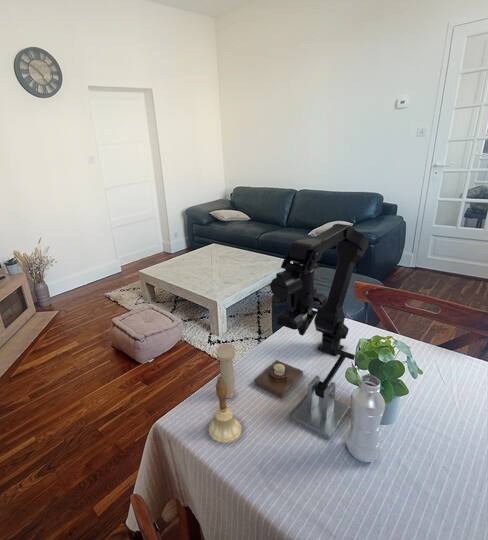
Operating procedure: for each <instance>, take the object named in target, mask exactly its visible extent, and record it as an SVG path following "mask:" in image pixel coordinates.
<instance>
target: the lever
mask: <svg viewBox="0 0 488 540" xmlns="http://www.w3.org/2000/svg"><path fill="white" fill-rule="evenodd" d="M335 354H338V355H337V356H339V357H338V358H337V360H336V362H335V364H334V365H333V366H332V367H331V369H330V370H329V372H328V374H327V375H326V376H325V378H324V380H323V381H321V380H320V381H319V383H318V384H317V386H316V387H315V395H316V396H319V397H321V398H323V399H324V391H325V390H326V388H327V387H328V386H329V385H330V383H331V382H332V380H333V379H334V377H335V375H336V374H337V372H338V370H340V367H341V366H342V365H343V363H344V361H345V360H346V359H349V360H352V361H354V360H355V359H356V355H355V354H353V353H351V352H348V351H345V350H343V349H342V350H339V349H335Z"/></svg>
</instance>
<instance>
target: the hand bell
mask: <svg viewBox="0 0 488 540" xmlns="http://www.w3.org/2000/svg"><path fill="white" fill-rule="evenodd" d="M216 380H217V381H216V383H215V392H216V396H217V398H218V402H219V407H218V408H216V410H215V412H214V418H213V419H212V421H211V422H210V423H209V425H208V434H209V436H210V438H211V439H212V440H214V441H215V442H217V443H222V444H229V443H233V442H234V441H236V440H237V439H239V438H240V436H241V434H242V431H243V430H242V424H241V422H240V421H239V420H238V419H237V418H235V416H234V412H233V410H232V409H231V408H230V407H227V400H226V399H227V398H226V395H227V387H226V383H225V381H224V379H223V377H221V376H218V377H217V379H216Z"/></svg>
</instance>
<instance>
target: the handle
mask: <svg viewBox="0 0 488 540" xmlns="http://www.w3.org/2000/svg"><path fill="white" fill-rule="evenodd" d="M235 356H236V349H235V347H234V346H233V344H231V343H221V344H219V346H217V348H216V357H217V360H218V361H219V362H220V363H219V369H220V371H219V373H220V374H219V375H220V376H221V377H223V379H224V381H225V383H226V387H227V395H226V399H232V397H234V396H235V373H234V364H233V363H234V362H233V360H234V358H235ZM220 376H219V377H220Z"/></svg>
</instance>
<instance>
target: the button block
mask: <svg viewBox="0 0 488 540" xmlns="http://www.w3.org/2000/svg"><path fill="white" fill-rule="evenodd" d="M275 364H282V365H284V367H285V373H284V374H283V375H276V374H275V373H274V365H275ZM303 377H304V371H303V370H301V369H300V368H297V367H294V366H292V365H290V364H287V363H285V362H282V361H280V360H277V359H276V360H275V361H274V362H273V363H272V364H271V365H269V366H268V367H267V368H266V369H265V370H264V371H263V372H261V374H260V375H258V376H257V377H256V378H255V379H254V386H256V387H258V388H260V389H262V390H264V391H266V392H267V393H269V394H272V395H274V396H276V397H278V398H280V399H283V398H284V397H285V396H286V395H288V393H289V392H290V391H291V390H292V389H293V388H294V386H295V385H296V384H297V383H298V382H299V381H300V380H301V379H302V378H303Z"/></svg>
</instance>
